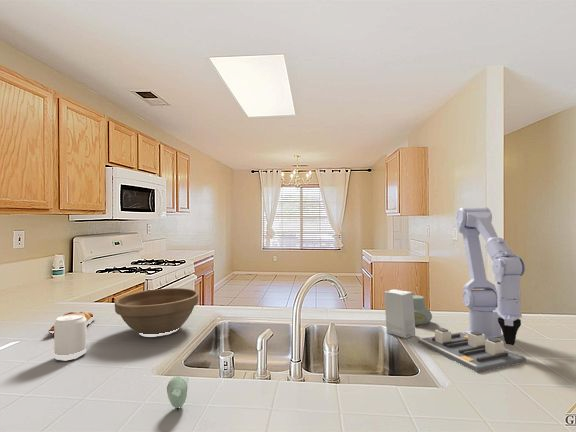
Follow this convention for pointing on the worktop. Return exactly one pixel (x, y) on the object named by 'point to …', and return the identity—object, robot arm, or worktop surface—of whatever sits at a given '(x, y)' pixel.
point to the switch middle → (476, 339)
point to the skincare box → (399, 313)
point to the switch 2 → (494, 346)
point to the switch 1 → (442, 335)
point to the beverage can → (70, 334)
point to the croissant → (87, 315)
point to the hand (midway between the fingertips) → (509, 344)
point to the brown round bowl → (157, 309)
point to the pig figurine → (177, 391)
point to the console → (471, 353)
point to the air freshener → (421, 311)
